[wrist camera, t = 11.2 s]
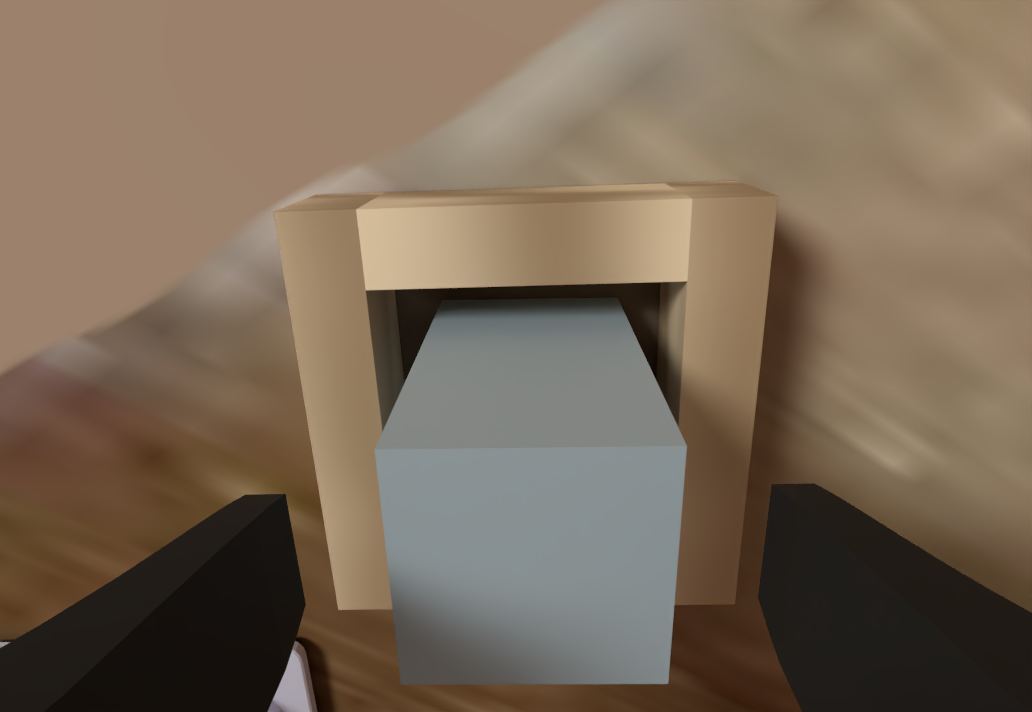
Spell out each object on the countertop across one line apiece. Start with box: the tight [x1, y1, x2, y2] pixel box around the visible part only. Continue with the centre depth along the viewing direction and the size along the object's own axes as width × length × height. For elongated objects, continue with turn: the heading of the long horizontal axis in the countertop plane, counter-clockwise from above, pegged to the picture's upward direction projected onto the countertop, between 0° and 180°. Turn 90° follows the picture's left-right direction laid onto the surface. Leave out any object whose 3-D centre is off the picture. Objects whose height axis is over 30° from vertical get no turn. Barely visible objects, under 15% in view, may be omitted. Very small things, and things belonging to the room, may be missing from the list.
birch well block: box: [274, 181, 778, 610], centre depth 14 cm, size 9×9×2 cm
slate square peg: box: [375, 297, 687, 685], centre depth 12 cm, size 4×4×7 cm
